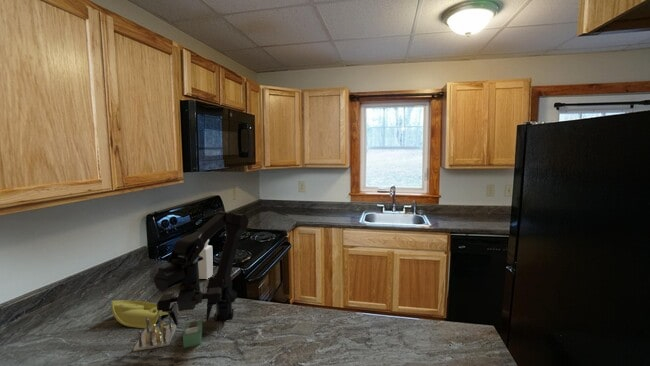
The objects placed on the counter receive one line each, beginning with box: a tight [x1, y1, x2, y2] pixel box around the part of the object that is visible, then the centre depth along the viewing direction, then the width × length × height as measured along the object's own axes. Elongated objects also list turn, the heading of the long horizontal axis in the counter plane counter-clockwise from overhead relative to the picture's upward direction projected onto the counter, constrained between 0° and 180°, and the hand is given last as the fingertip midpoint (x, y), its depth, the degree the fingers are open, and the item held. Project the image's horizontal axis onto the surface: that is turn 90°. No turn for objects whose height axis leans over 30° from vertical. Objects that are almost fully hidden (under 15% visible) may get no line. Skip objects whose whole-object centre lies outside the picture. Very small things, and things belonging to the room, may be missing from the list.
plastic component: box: [110, 299, 169, 329], centre depth 109 cm, size 20×7×10 cm
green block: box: [182, 319, 203, 348], centre depth 97 cm, size 8×5×5 cm, turn 19°
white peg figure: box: [198, 239, 214, 280], centre depth 145 cm, size 6×6×22 cm
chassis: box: [132, 314, 178, 352], centre depth 97 cm, size 11×10×5 cm
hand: (192, 322), depth 96 cm, fingers open, 9 cm apart
